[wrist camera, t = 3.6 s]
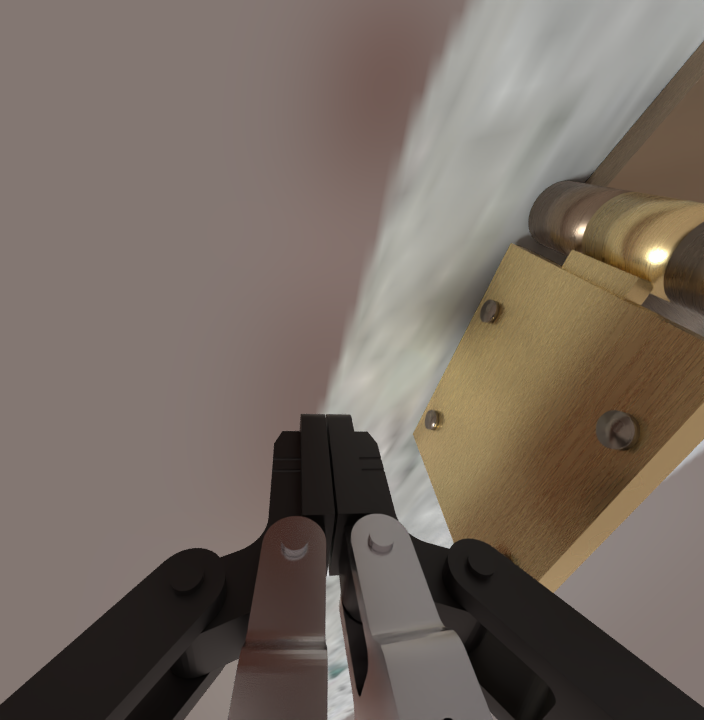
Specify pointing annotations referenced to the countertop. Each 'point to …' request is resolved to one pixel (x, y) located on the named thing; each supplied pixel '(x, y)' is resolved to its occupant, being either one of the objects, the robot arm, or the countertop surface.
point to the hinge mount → (645, 189)
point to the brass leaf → (568, 393)
